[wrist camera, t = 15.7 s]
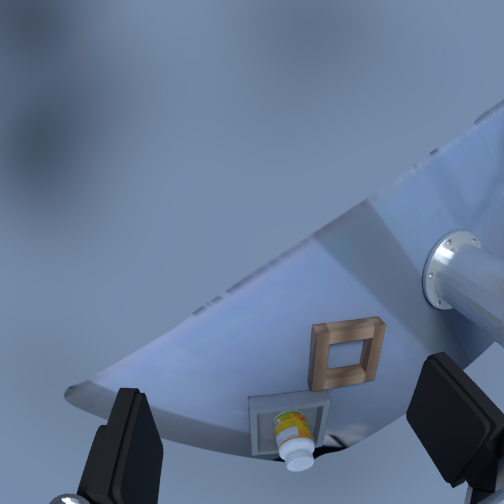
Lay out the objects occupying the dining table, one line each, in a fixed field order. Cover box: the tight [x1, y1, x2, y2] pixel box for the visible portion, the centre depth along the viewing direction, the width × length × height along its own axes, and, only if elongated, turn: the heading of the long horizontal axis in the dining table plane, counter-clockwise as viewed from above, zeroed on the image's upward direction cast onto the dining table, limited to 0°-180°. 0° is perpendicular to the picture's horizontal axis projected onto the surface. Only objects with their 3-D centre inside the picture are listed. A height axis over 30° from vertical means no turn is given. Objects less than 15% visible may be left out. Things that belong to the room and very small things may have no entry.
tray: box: [248, 389, 331, 456], centre depth 44 cm, size 12×12×3 cm
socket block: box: [308, 316, 386, 391], centre depth 41 cm, size 10×10×2 cm
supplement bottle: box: [273, 410, 315, 472], centre depth 41 cm, size 5×5×10 cm
